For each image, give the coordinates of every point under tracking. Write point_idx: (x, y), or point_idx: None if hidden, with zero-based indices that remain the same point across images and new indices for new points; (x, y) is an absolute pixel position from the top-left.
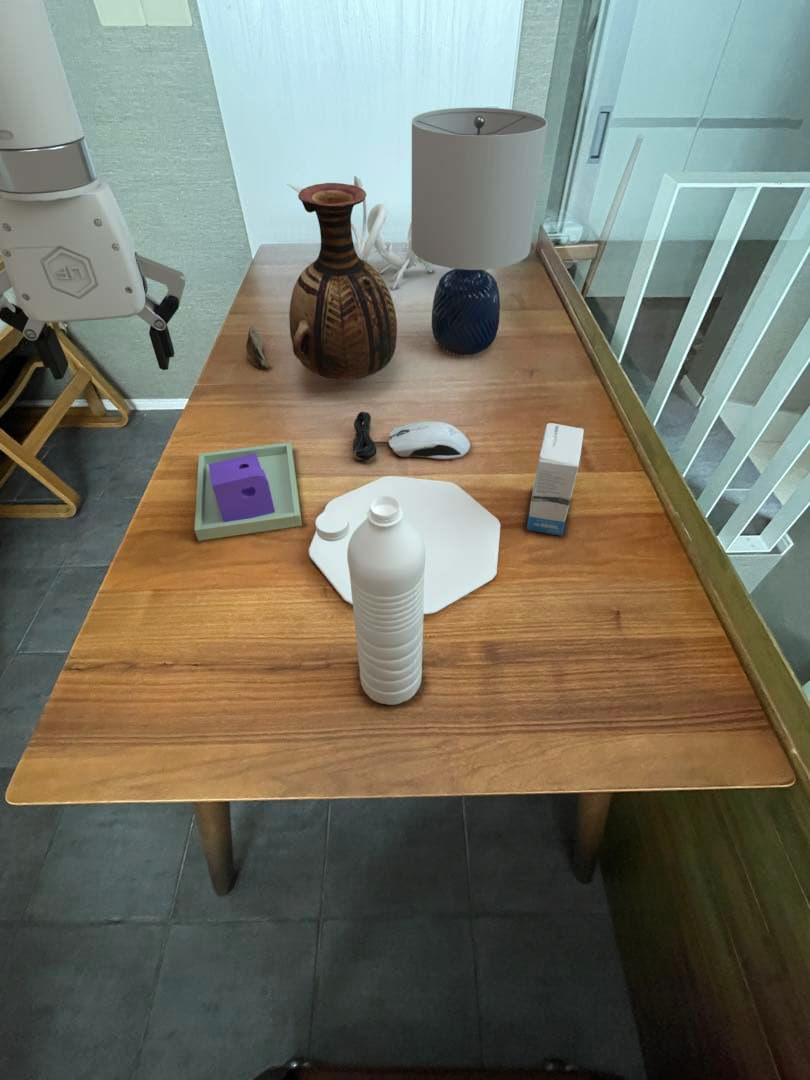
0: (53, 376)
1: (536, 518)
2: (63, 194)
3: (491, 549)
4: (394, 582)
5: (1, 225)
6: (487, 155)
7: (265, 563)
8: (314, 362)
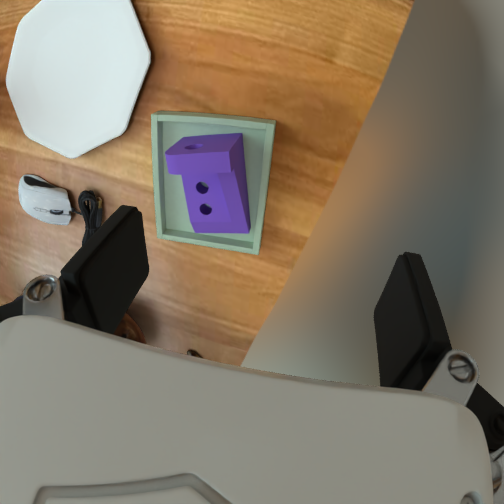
0: (421, 259)
1: None
2: None
3: (14, 50)
4: None
5: None
6: None
7: (203, 62)
8: (120, 324)
